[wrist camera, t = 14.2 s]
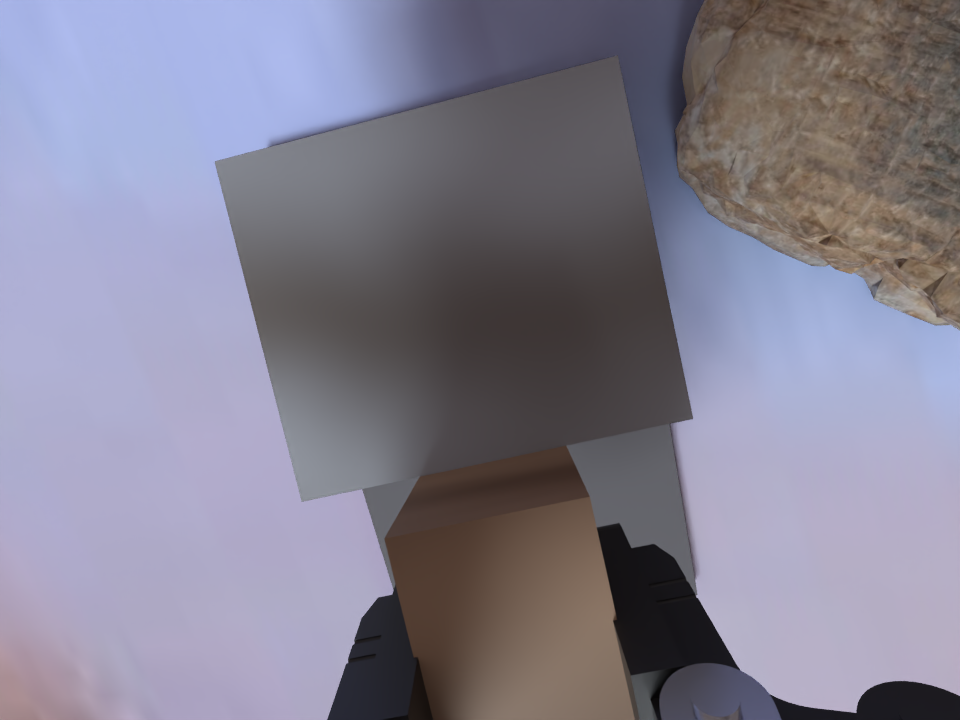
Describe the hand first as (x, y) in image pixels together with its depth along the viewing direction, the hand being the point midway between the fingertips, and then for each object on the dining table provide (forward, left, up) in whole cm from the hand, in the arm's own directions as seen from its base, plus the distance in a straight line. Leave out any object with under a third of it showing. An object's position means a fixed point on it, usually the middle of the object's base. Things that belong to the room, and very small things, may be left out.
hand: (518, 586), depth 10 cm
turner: (-1, 0, -1) cm, 2 cm away
